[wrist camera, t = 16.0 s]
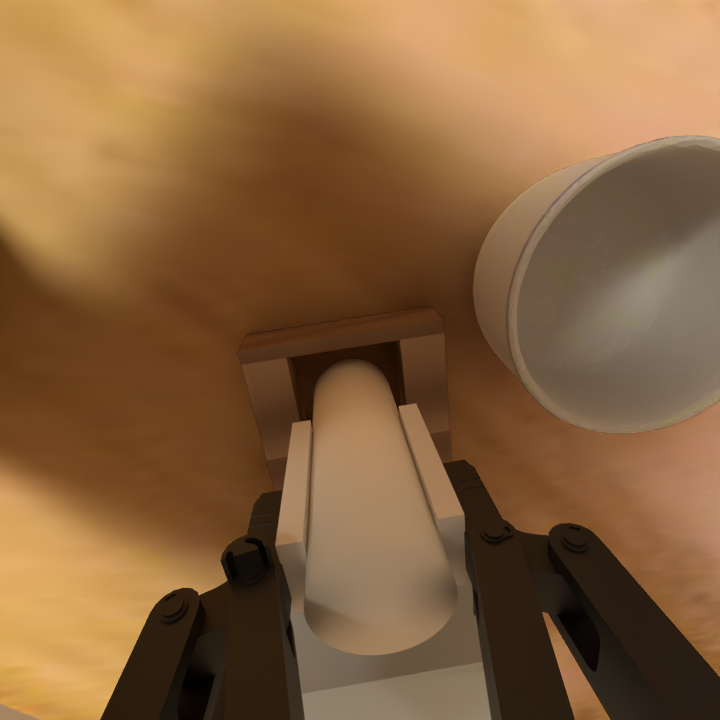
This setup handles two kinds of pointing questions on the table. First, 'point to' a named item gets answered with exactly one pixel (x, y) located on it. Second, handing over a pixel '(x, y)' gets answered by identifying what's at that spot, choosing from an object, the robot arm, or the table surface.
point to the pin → (369, 523)
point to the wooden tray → (278, 348)
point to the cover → (397, 675)
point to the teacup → (611, 287)
